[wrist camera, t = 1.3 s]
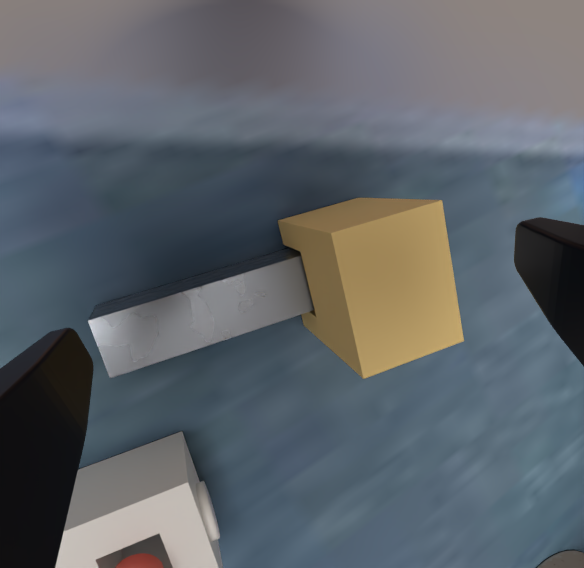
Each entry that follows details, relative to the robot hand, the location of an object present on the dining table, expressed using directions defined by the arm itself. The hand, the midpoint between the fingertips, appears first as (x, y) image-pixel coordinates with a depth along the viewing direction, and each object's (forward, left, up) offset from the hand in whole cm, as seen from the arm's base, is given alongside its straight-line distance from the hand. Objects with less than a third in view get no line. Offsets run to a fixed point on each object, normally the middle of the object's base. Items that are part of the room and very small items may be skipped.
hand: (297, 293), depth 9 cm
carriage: (-4, -6, -17) cm, 18 cm away
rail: (-4, -1, -17) cm, 17 cm away
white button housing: (-14, +8, -17) cm, 23 cm away
